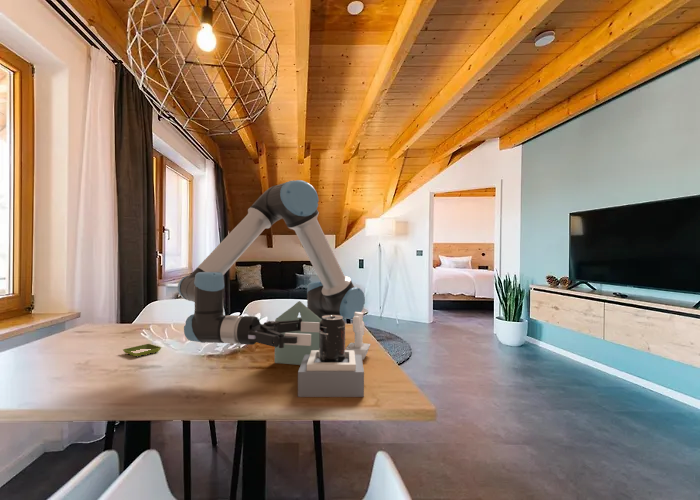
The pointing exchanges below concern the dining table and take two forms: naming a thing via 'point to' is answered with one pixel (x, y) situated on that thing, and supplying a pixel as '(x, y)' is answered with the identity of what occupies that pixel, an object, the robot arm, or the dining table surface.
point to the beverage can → (332, 339)
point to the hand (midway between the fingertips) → (317, 333)
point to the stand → (331, 376)
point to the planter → (297, 352)
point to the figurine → (358, 336)
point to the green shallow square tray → (145, 346)
